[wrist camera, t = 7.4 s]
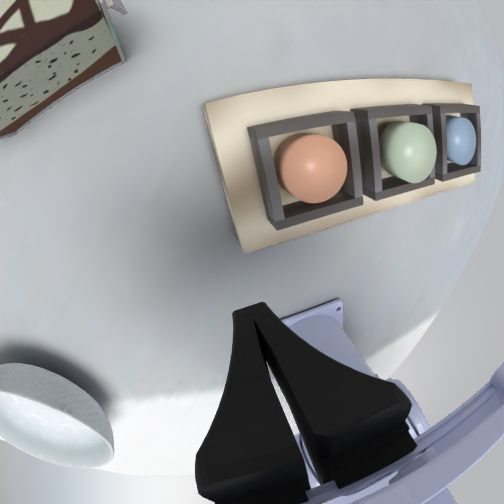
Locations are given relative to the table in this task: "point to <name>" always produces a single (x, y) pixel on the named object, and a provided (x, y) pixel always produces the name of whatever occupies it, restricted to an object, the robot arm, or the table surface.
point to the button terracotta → (311, 167)
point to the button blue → (460, 139)
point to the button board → (349, 139)
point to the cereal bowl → (52, 418)
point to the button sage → (407, 151)
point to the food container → (51, 53)
